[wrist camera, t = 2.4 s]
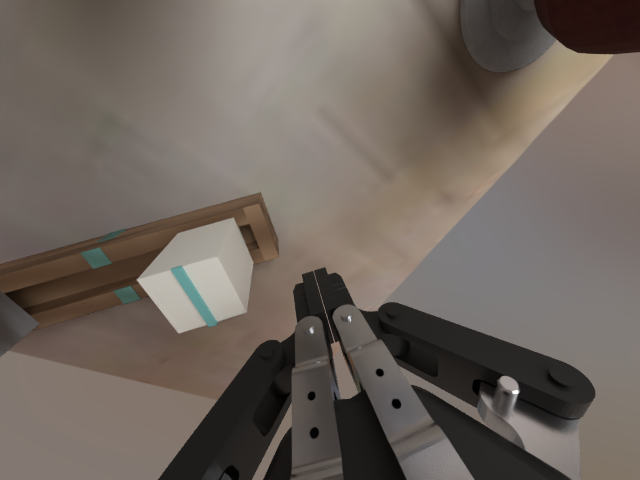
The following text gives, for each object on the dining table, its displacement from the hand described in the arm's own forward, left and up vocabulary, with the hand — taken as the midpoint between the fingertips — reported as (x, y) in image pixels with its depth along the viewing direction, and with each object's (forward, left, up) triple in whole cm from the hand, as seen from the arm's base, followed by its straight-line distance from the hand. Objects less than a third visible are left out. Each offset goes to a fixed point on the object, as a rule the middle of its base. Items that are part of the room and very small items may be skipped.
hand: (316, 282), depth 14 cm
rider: (0, -8, -11) cm, 14 cm away
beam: (0, -18, -13) cm, 22 cm away
